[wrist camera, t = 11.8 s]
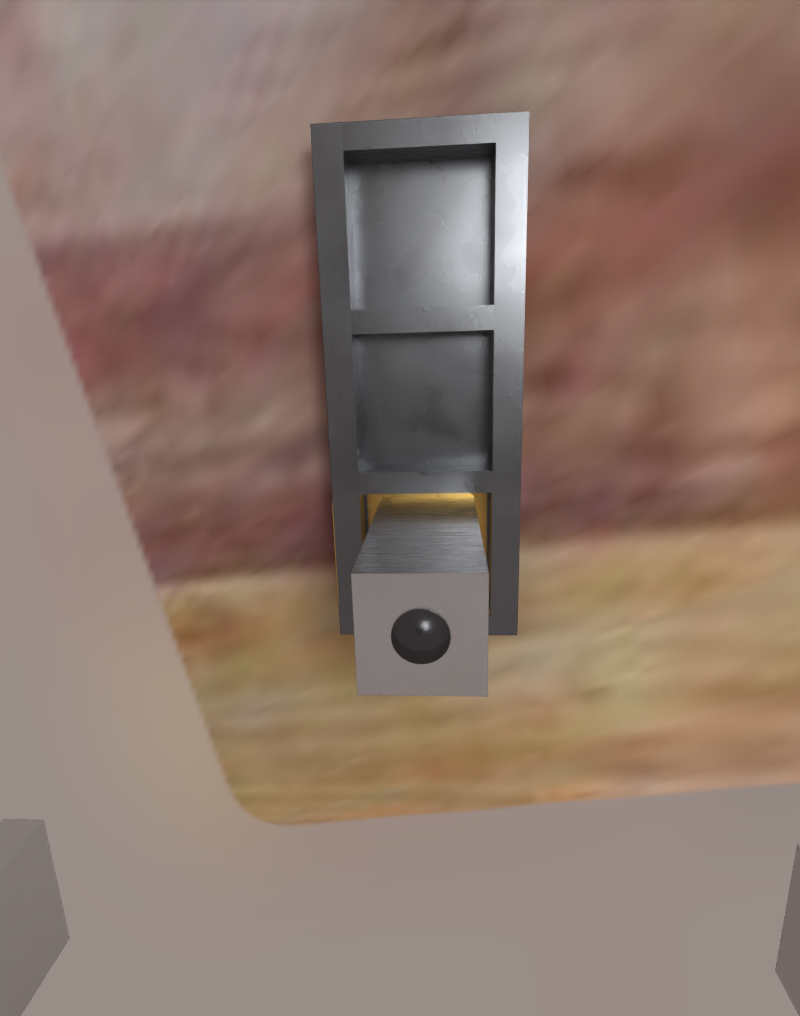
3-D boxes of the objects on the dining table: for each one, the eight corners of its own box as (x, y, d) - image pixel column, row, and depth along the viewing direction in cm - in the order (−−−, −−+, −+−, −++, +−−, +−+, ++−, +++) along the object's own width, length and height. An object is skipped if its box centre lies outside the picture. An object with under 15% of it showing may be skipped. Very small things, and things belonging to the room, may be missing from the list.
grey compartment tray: (319, 144, 26) (307, 124, 24) (521, 133, 26) (529, 111, 23) (346, 612, 32) (338, 634, 30) (511, 612, 31) (517, 635, 29)
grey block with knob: (380, 498, 30) (350, 574, 20) (474, 498, 29) (489, 574, 20) (384, 585, 31) (357, 696, 21) (473, 585, 31) (487, 697, 21)
